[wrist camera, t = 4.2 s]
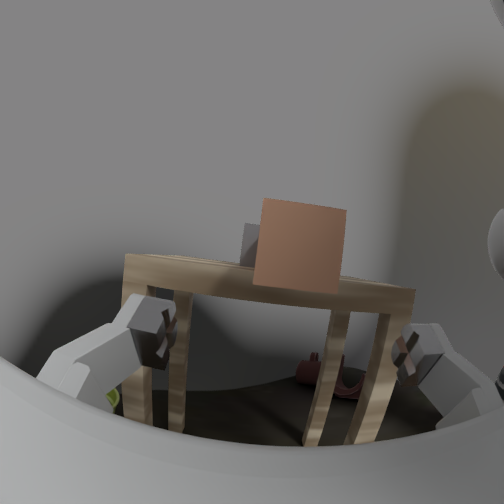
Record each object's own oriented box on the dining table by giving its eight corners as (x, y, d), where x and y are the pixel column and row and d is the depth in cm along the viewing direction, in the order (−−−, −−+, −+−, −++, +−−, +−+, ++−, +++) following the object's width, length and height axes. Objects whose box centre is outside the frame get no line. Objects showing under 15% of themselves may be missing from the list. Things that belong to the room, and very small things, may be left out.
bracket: (368, 399, 42) (374, 350, 47) (291, 392, 52) (299, 348, 57) (373, 398, 47) (379, 354, 51) (303, 392, 57) (310, 353, 61)
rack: (336, 512, 17) (415, 289, 18) (136, 491, 18) (125, 253, 18) (314, 440, 33) (350, 276, 34) (171, 424, 34) (182, 255, 34)
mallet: (374, 297, 9) (383, 190, 9) (209, 278, 9) (225, 166, 9) (294, 270, 31) (298, 236, 31) (242, 264, 31) (247, 229, 31)
